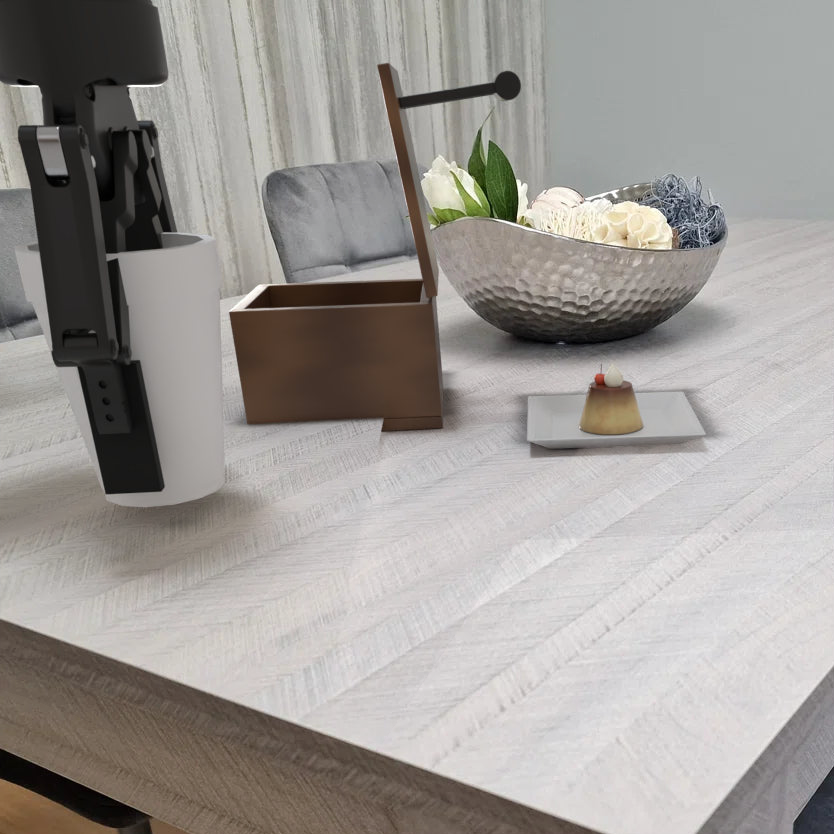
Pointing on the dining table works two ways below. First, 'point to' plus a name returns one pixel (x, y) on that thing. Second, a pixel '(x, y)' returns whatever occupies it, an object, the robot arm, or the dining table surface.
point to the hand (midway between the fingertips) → (160, 460)
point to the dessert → (611, 417)
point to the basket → (340, 353)
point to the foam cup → (163, 359)
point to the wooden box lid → (396, 105)
